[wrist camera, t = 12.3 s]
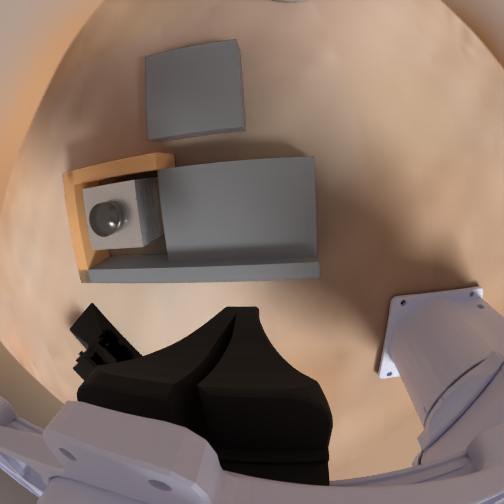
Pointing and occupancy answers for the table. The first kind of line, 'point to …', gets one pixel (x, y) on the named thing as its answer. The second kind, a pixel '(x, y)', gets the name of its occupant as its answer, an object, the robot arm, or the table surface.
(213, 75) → the gray square block
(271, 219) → the rail
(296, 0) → the coffee cup
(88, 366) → the black boxy piece
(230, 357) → the robot arm
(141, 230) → the metal block
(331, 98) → the table surface
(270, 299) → the table surface
